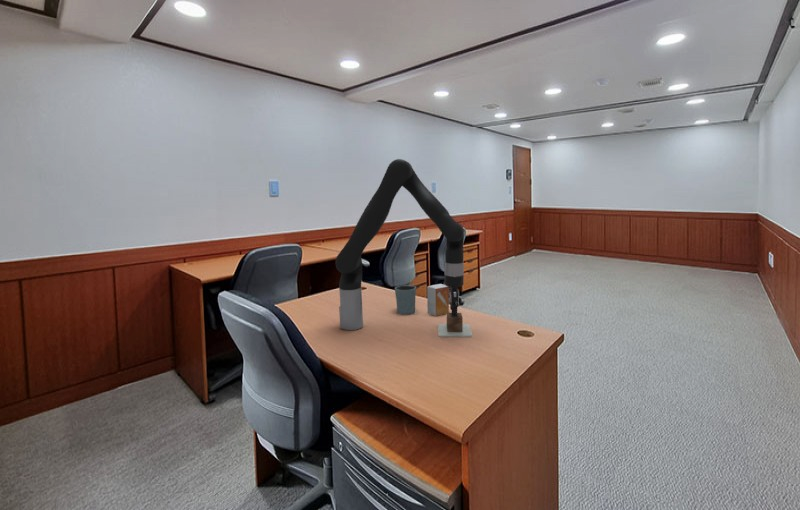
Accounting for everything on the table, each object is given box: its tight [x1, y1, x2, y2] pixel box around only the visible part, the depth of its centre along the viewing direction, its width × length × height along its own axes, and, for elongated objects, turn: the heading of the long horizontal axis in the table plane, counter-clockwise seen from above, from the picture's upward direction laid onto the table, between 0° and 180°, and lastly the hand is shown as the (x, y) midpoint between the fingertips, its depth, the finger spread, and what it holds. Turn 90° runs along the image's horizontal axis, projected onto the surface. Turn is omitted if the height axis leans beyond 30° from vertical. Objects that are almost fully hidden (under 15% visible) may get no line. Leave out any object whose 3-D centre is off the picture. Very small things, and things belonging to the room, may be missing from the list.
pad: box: [437, 323, 473, 338], centre depth 154 cm, size 13×13×1 cm
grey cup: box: [394, 284, 417, 316], centre depth 179 cm, size 10×10×12 cm
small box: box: [426, 283, 450, 317], centre depth 176 cm, size 8×6×13 cm
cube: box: [446, 312, 464, 332], centre depth 153 cm, size 6×6×6 cm
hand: (453, 312), depth 153 cm, fingers open, 8 cm apart
